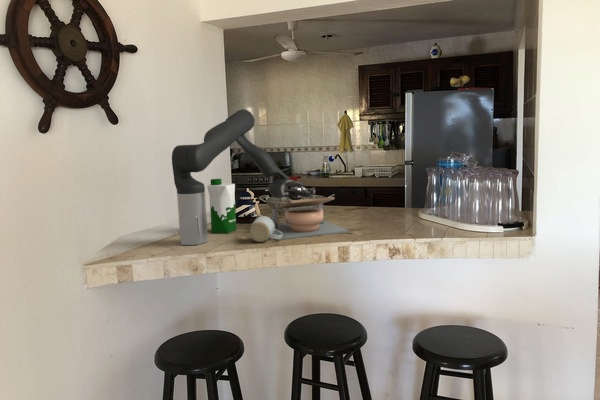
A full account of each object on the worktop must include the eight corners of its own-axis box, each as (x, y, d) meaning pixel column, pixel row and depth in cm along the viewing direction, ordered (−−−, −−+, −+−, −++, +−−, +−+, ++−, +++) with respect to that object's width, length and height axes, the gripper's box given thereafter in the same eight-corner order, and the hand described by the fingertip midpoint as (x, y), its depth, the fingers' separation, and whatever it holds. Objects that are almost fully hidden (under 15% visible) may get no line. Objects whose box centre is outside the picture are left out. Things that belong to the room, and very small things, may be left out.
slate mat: (260, 227, 180) (260, 225, 180) (321, 220, 188) (321, 219, 188) (279, 240, 156) (279, 238, 156) (348, 232, 164) (348, 230, 164)
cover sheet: (277, 209, 174) (276, 206, 174) (316, 205, 179) (316, 203, 179) (291, 203, 156) (291, 200, 156) (334, 199, 161) (334, 196, 161)
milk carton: (219, 228, 180) (216, 178, 177) (240, 229, 177) (237, 178, 174) (207, 233, 171) (204, 180, 169) (229, 234, 168) (226, 180, 166)
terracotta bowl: (321, 232, 162) (321, 213, 161) (282, 233, 164) (282, 213, 163) (325, 225, 176) (324, 207, 175) (289, 225, 177) (288, 207, 177)
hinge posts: (272, 229, 174) (271, 208, 173) (321, 224, 181) (320, 204, 180) (273, 230, 173) (272, 209, 172) (323, 225, 179) (322, 205, 178)
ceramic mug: (249, 243, 152) (246, 221, 151) (254, 238, 160) (252, 216, 159) (280, 241, 151) (278, 218, 149) (284, 236, 159) (282, 214, 158)
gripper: (276, 181, 177) (289, 185, 161) (308, 179, 181) (324, 182, 165) (276, 200, 178) (290, 206, 162) (308, 198, 182) (325, 203, 166)
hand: (307, 194), depth 164 cm, fingers closed
